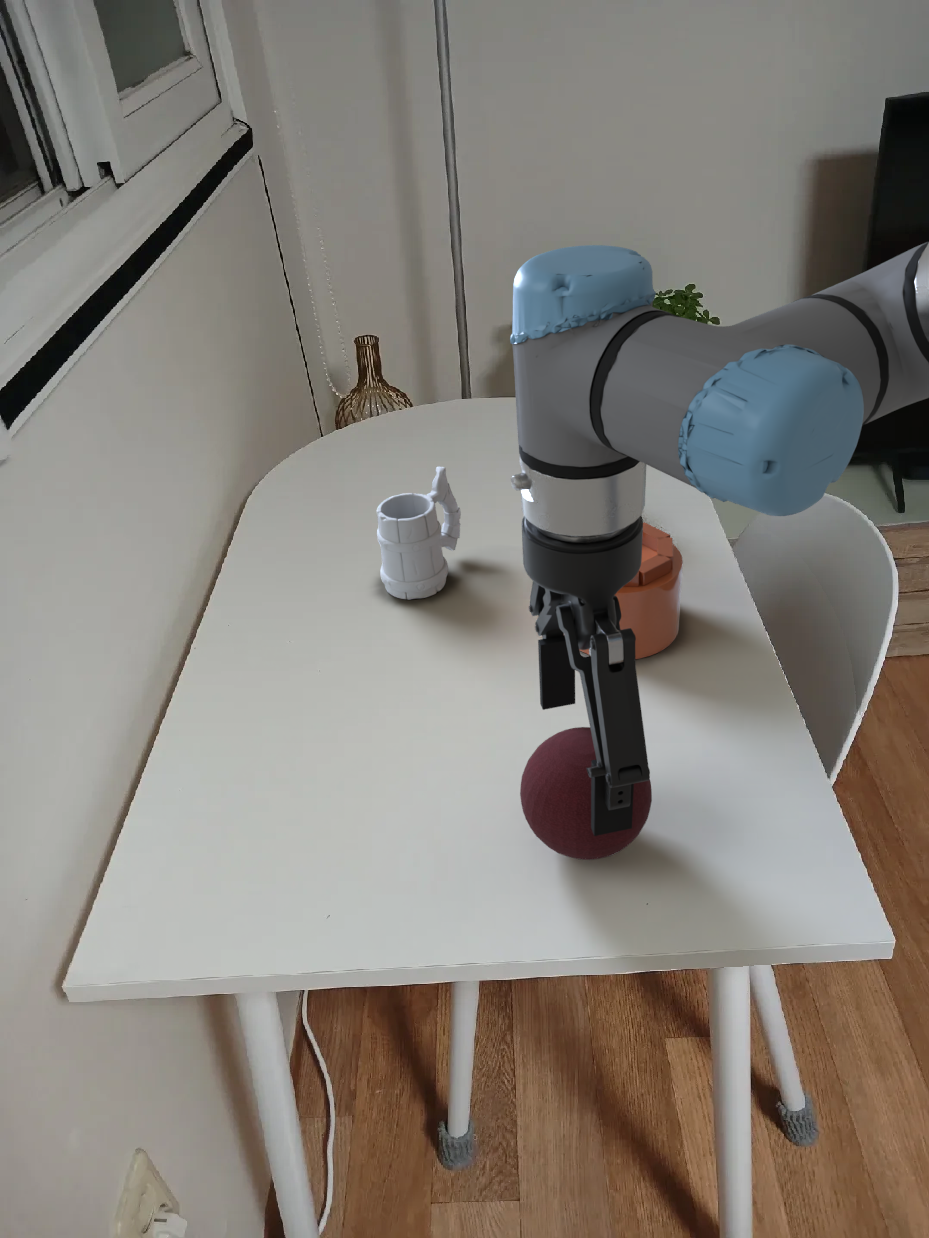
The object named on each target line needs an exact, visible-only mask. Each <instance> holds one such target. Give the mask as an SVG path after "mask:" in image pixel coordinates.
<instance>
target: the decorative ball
mask: <svg viewBox="0 0 929 1238" xmlns="http://www.w3.org/2000/svg"><path fill="white" fill-rule="evenodd" d="M591 760H596V754H595V749H594V744H593V739H592V734H591V729H590V726H589V727H588V726H580V727H572V728H567V729H564V730H561V731H558V732H556V733H555V734H553V735H552V736H550V737H548V738H546V739H545V740H544V741H543V742H542V743H540V744H539V745H538V746H537V747H536V749H535V750H534V752H533V753H532V754H531V755H530V756H529V758H528V760H527V762H526V765H525V767H524V769H523V772H522V775H521V780H520V792H519V796H520V804H521V808H522V813H523V815H524V817H525V820H526V821H527V824H528V826H529V828H530V829H531V831H532V832H533V834H534V835H535V837H537V839H539V840H540V841H541V842H542V843H543V844H544V845H545V846H547V848H549V849H550V850H552V851H554V852H556V853H557V854H559V855H562V856H565V857H567V858H570V859H571V858H572V859H576V860H587V861H590V860H591V861H592V860H599V859H603V858H607V857H611V856H613V855H615V854H617V853H620V852H621V851H622V850H624V849H625V848H627V847H628V846H629V845H631V844H632V842H634V840H636V838H637V837H638V836H639V835H640V833H641V832H642V830H643V828H644V826H645V825H646V822H648V821H647V820H648V818H649V814H650V811H651V807H652V801H653V797H652V796H653V795H652V794H653V793H652V781H651V779H650V778H651V777H650V778H649V781H644V782H639V783H634V793H633V817H632V829H627V830H622V831H617V832H612V833H608V834H603V835H598V836H594V834H593V832H592V829H591V778H590V777H589V775H588V772H587V768H589V767H591Z"/></svg>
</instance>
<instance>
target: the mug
mask: <svg viewBox="0 0 929 1238" xmlns="http://www.w3.org/2000/svg"><path fill="white" fill-rule="evenodd" d="M435 473H436V475H435V476H434V478H433V479H432V483H431V490H430V492H429V493H426V494H424V493H414V492H406V493H399V494H395V495H391V496H390V497H387V498H385V499H384V500H383V501H382V502H380V503H379V505H378V506H377V508H376V516H377V525H378V528H377V530H376V538H377V542H378V544H379V545H380V553H381V563H382V564H381V565H380V571H379V572H380V579H381V581H382V583H383V585H384V587H385V590H386V592H387V593H388V594H389V595H391V596H392V597H394V598H398V599H401V600H415V599H424V598H425V599H426V598H429V597H431V596H434V595H436V594H437V592H440V591H441V590H442V589H444V587H445V585H446V581H447V576H448V575H449V565H448V561H447V559H446V557H445V556H444V553H443V548H445V549H447V550H449V551H456V547H457V543H458V539H460V538H461V520H460V519H461V515H462V514H461V513H462V512H461V508H460V507H459V505H458V503H457V500H456V498H455V496H454V494H453V492H452V489H451V488H452V487H451V486H450V483H449V482H448V477H447V469H446V467H445V466H441V465H438V466H436V467H435ZM436 503H438V504H439V505H440V506H441V507H442V508H443V519H444V522H442V526H441V522H440V521H439V520H438V515H437V508H436Z"/></svg>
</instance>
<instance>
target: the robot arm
mask: <svg viewBox="0 0 929 1238" xmlns="http://www.w3.org/2000/svg"><path fill="white" fill-rule="evenodd" d="M653 285H654V283H653V268H652V264H651V263H650V261H648V259H646V258H645V257H644V256H642V255H641V254H640V253H639V252H637V251H636V250H633V249H631V248H626V247H621V246H616V245H604V244H601V245H600V244H589V245H585V244H584V245H574V246H566V247H560V248H556V249H551V250H549V251H545V252H542V253H539V254H537V255H535V256H533V257H531V258H529V259H528V260H527V261H525V262H524V263H523V264H522V265H521V266H520V267H519V269H518V270H517V272H516V274H515V276H514V279H513V285H512V286H513V288H512V324H511V325H512V326H511V327H512V328H511V331H512V332H511V334H510V337H509V341H510V345H512V355H513V356H512V358H513V374H514V389H515V390H514V393H515V408H516V409H515V410H516V426H517V427H516V429H517V443H518V454H519V466H520V471H521V473H516V474H513V475H512V476H511V478H510V481H511V488H512V489H513V490H515V491H520V499H521V501H520V502H521V511H522V514H523V517H522V519H521V540H522V541H521V542H522V562H523V563H522V564H523V568H524V570H525V572H526V574H527V576H528V577H529V578H530V579H531V580H532V585H531V591H530V597H529V605H528V611H529V613H530V614H531V616H532V617H535V616H538V617H537V618H536V620H535V623H534V630H535V632H536V633H537V635H538V636H539V637H540V636H541V638H540V639H537V647H538V648H537V652H538V673H539V674H538V675H539V677H538V678H539V679H538V680H539V701H540V706H541V709H542V710H543V711H545V710H551V709H555V708H560V707H565V706H571V705H576V672H578V673H579V677H580V682H581V688H582V692H583V698H584V703H585V707H586V713H587V718H588V723H589V727H590V729H591V734H592V739H593V744H594V749H595V754H596V760H591V767H589V768H587V772H588V775H589V777H590V778H591V829H592V832H593V834H594V836H598V835H603V834H608V833H612V832H617V831H622V830H627V829H632V817H633V793H634V783H639V782H644V781H649V778H651V775H650V774H651V772H650V771H651V770H650V768H649V761H648V752H647V745H646V736H645V729H644V722H643V713H642V705H641V698H640V690H639V682H638V673H637V667H636V664H637V663H636V660H637V659H635V641H636V637H635V634H634V633H633V631H632V629H631V628H628V629H623V630H621V629H620V624H619V622H620V620H621V610H620V605H619V601H618V598H617V596H615V594H616V593H617V592H618V591H619V590H620V589H621V588H622V587H623V586H624V585H626V584H627V583H628V582H630V581H631V580H632V579H633V578H634V577H635V576H636V574H637V573H638V571H639V569H640V566H641V560H642V536H643V522H644V519H643V512H644V510H645V506H646V489H647V488H646V487H647V486H646V485H647V484H646V483H647V466H649V467H651V468H654V469H655V470H657V471H659V472H661V473H663V474H665V475H667V476H670V477H672V478H674V479H676V480H678V481H680V482H682V483H684V484H687V485H688V486H691V487H693V488H695V489H696V490H697V491H699V492H700V493H702V494H704V495H705V496H707V497H709V498H711V499H716V500H718V501H720V502H723V503H725V502H730V503H732V504H735V505H739V506H742V507H744V508H748V509H750V510H753V511H756V512H758V513H761V514H764V515H766V516H770V517H789V516H793V515H796V514H799V513H801V512H802V513H803V512H804V511H806V510H808V509H809V508H811V507H812V506H814V505H816V504H817V503H819V502H820V500H821V499H822V498H823V497H824V495H825V493H826V491H827V488H828V486H829V485H830V484H834V483H836V482H838V481H839V480H840V478H841V476H842V475H843V474H844V472H845V470H846V469H847V467H848V465H849V464H850V462H851V459H852V457H853V455H854V453H855V450H856V448H857V445H858V442H859V439H860V436H861V431H862V427H863V426H864V425H867V424H869V423H871V422H873V421H875V420H877V419H879V418H881V417H883V416H886V415H888V414H891V413H893V412H894V411H897V410H900V409H902V408H904V407H906V406H910V405H912V404H915V403H917V402H920V401H923V400H926V399H929V241H926V242H924V243H922V244H920V245H919V244H918V245H917V246H915V247H914V246H913V248H911V249H907V251H904V252H902V253H900V254H897V255H896V256H894V257H892V258H890V259H888V260H886V261H884V262H882V263H880V264H878V265H876V266H874V267H872V268H870V269H868V270H866V271H864V272H861V273H860V274H857V275H855V276H852V277H851V278H848V279H846V280H843V281H840V282H838V283H836V284H834V285H832V286H829V287H827V288H825V289H822V290H820V291H818V292H815V293H813V294H810V295H807V296H804V297H801V298H798V299H796V300H794V301H791V302H789V303H786V304H784V305H782V306H779V307H778V306H777V307H776V308H773V309H770V310H768V311H765V312H763V313H761V314H758V315H755V316H753V317H750V318H748V319H745V320H743V321H740V322H738V323H735V324H733V325H726V326H719V325H713V324H709V323H705V322H700V321H698V320H693V319H689V318H687V317H686V318H685V317H681V316H679V315H675V314H673V313H671V312H669V311H666V310H662V309H660V308H656V307H653V302H654V301H655V300H656V294H657V292H656V291H655V289H654V286H653ZM579 649H580V650H587V649H589V654H590V655H589V654H588V655H589V656H583V655H582V654H581V651H580V650H579Z"/></svg>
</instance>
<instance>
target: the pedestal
mask: <svg viewBox="0 0 929 1238" xmlns="http://www.w3.org/2000/svg"><path fill="white" fill-rule="evenodd" d="M673 542H674V540H673V537H672V536H671V534H670V533H667V532H665V531H663V530H662V529H659V528H658V527H655V526H653V525H651V524H649V523H647V522H646V521H643V536H642V560H641V566H640V569H639V571H638V573H637V574H636V576H635V577H634V578H633V579H632V580H631V581H630V582H628V583H627V584H626V585H624V586H623V587H622V588H621V589H620V590H619V591H618V592H617V593H616V594H615V596H617V598H618V601H619V605H620V610H621V620H620V622H619V624H620V629H621V630H623V629H628V628H631V629H632V631H633V633H634V634H635V637H636V641H635V660H639V659H644V658H648V657H650V656H653V655H656V654H658V653H660V652H662V651H664V650H665V649H666V648H668V647H669V646H670V645H671V644H672V643H673V642H674V641H675V640H676V638H677V636H678V634H679V629H680V613H681V598H682V597H681V596H682V595H681V594H682V580H683V579H682V577H683V564H684V563H683V562H684V560H683V556H682V553H681V551H680V550H679V548H678V547H677V546H676V545H675V544H674V543H673ZM579 651H580V652H582V653H584V654H587V655H589V656H590V654H589V649H587V650H580V649H579Z"/></svg>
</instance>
